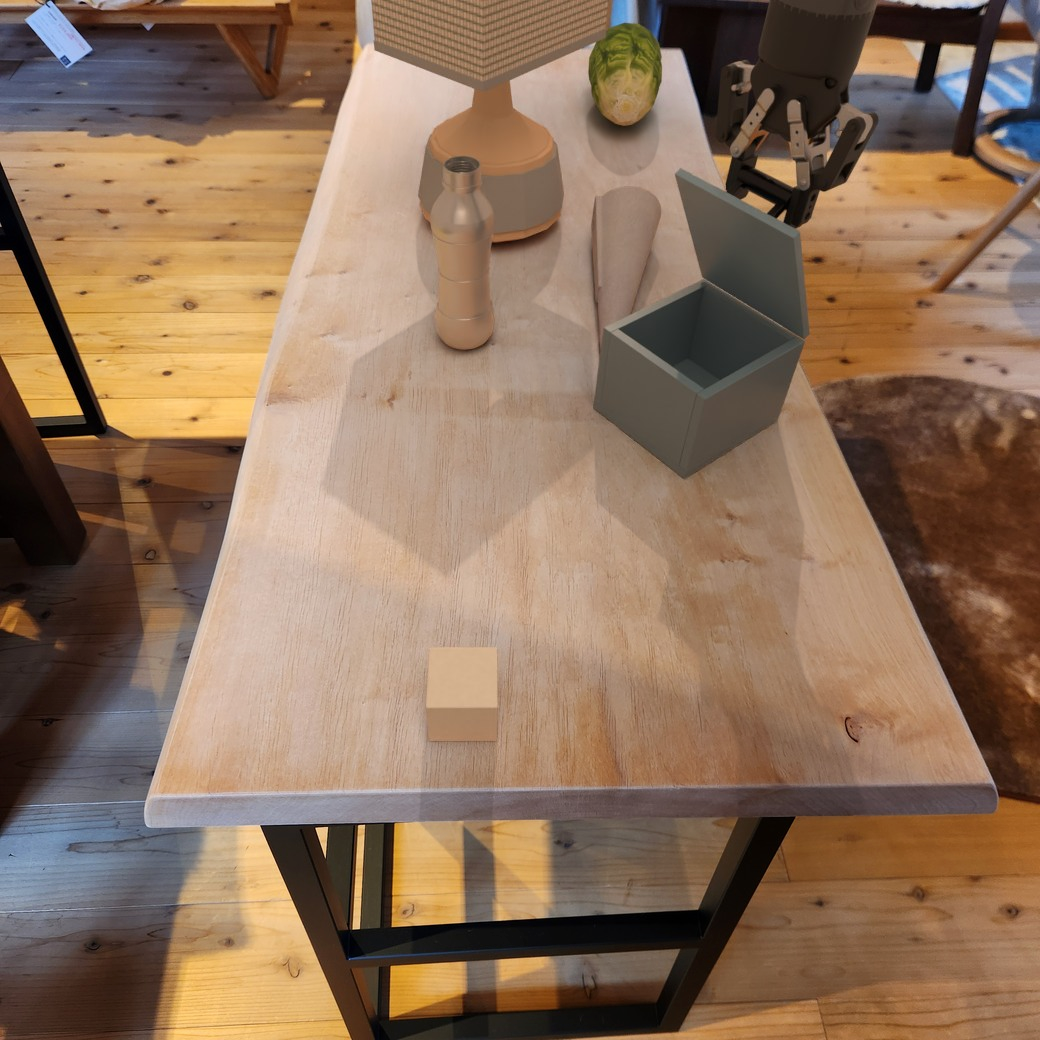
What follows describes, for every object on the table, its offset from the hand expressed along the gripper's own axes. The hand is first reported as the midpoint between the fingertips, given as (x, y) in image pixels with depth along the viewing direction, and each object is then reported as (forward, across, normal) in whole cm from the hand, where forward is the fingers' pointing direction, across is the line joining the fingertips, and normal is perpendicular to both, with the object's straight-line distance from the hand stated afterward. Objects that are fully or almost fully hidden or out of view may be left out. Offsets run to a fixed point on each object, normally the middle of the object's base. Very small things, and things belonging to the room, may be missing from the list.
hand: (763, 211), depth 74 cm
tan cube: (+22, -13, +42) cm, 50 cm away
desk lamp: (+21, +43, -5) cm, 48 cm away
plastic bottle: (+21, +24, +14) cm, 35 cm away
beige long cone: (+21, +19, -6) cm, 29 cm away
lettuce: (+20, +55, -41) cm, 72 cm away
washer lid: (+4, 0, +1) cm, 5 cm away
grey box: (+21, 0, +4) cm, 21 cm away
